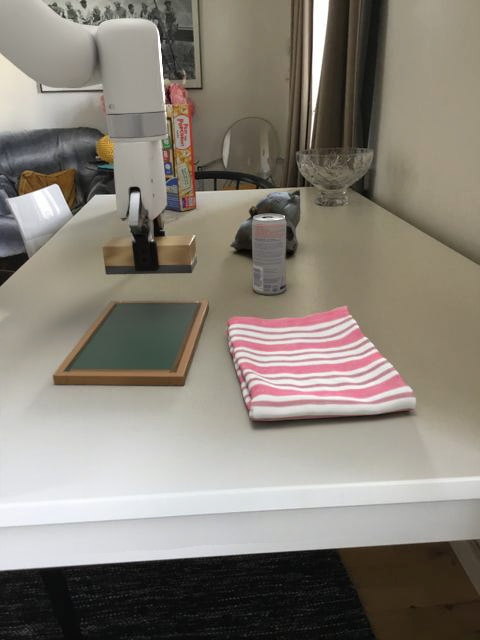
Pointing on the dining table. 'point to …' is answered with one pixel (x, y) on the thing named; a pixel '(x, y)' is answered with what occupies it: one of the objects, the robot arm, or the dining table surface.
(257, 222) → the energy drink
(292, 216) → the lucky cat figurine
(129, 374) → the chalkboard
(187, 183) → the board game
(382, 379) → the dish towel
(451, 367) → the dining table surface
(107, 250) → the eraser
